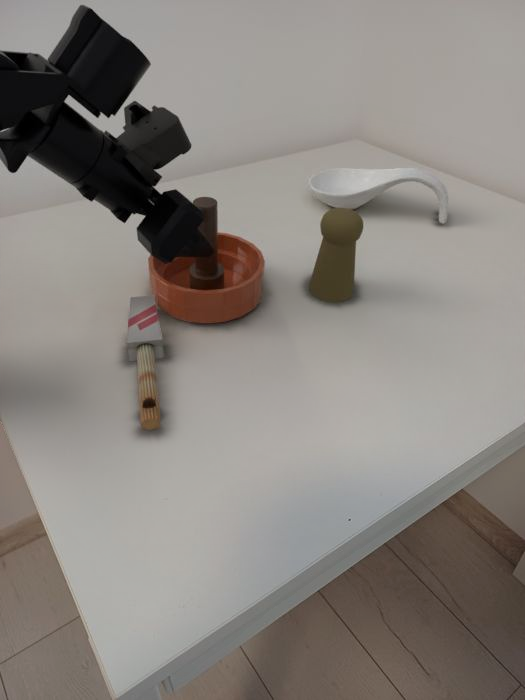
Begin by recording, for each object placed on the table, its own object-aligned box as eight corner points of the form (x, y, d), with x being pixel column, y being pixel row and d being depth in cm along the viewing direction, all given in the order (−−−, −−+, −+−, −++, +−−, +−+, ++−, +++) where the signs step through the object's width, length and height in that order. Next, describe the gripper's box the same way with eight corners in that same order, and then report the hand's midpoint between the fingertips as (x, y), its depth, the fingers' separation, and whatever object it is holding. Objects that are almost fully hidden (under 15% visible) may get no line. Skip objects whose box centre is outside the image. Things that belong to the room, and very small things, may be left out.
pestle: (202, 303, 64) (199, 214, 56) (183, 286, 67) (178, 199, 59) (231, 291, 66) (232, 204, 58) (211, 276, 69) (210, 190, 61)
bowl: (138, 319, 62) (133, 285, 59) (168, 258, 73) (165, 226, 69) (254, 333, 61) (256, 298, 58) (267, 269, 72) (270, 237, 68)
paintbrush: (157, 285, 62) (169, 413, 48) (159, 302, 64) (171, 431, 50) (124, 287, 61) (127, 418, 47) (127, 305, 63) (130, 436, 49)
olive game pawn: (306, 298, 67) (316, 221, 60) (311, 273, 72) (321, 199, 64) (352, 305, 66) (368, 228, 59) (354, 279, 71) (369, 205, 64)
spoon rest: (300, 210, 86) (304, 168, 81) (313, 183, 94) (318, 143, 90) (445, 235, 82) (458, 193, 77) (445, 205, 90) (457, 164, 86)
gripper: (180, 113, 41) (281, 212, 53) (98, 60, 53) (197, 152, 65) (99, 224, 43) (215, 296, 55) (36, 149, 54) (144, 222, 66)
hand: (192, 235), depth 60 cm, fingers open, 9 cm apart
